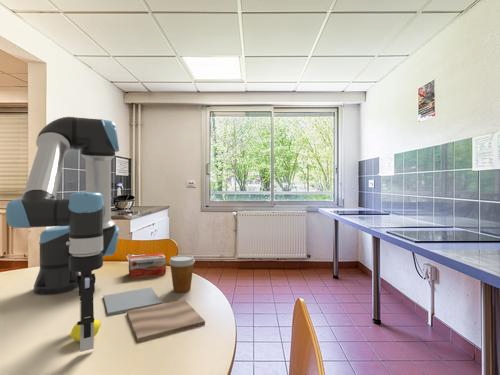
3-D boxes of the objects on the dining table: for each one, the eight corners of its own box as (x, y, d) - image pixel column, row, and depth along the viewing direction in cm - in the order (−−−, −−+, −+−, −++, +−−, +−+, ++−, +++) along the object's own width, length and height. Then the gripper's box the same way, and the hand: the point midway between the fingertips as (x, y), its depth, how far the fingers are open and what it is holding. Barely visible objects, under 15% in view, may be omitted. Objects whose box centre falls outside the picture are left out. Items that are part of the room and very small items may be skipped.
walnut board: (126, 314, 87) (126, 311, 87) (184, 302, 96) (184, 299, 96) (137, 342, 72) (137, 338, 72) (205, 324, 81) (205, 321, 81)
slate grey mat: (103, 297, 100) (103, 295, 100) (151, 289, 108) (151, 287, 108) (107, 315, 86) (107, 313, 86) (161, 304, 95) (161, 302, 95)
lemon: (74, 350, 69) (71, 329, 68) (69, 342, 73) (66, 321, 72) (105, 336, 74) (102, 316, 73) (99, 329, 77) (96, 310, 77)
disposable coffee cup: (171, 285, 113) (171, 255, 113) (196, 284, 113) (196, 254, 113) (166, 294, 103) (166, 261, 103) (193, 294, 104) (193, 261, 104)
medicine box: (129, 279, 120) (129, 260, 120) (128, 273, 128) (128, 256, 128) (166, 274, 127) (166, 256, 127) (163, 269, 134) (163, 252, 134)
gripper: (69, 245, 82) (69, 320, 82) (67, 267, 60) (67, 367, 60) (99, 243, 85) (99, 314, 85) (107, 262, 64) (107, 357, 64)
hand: (86, 336), depth 73 cm, fingers open, 13 cm apart
